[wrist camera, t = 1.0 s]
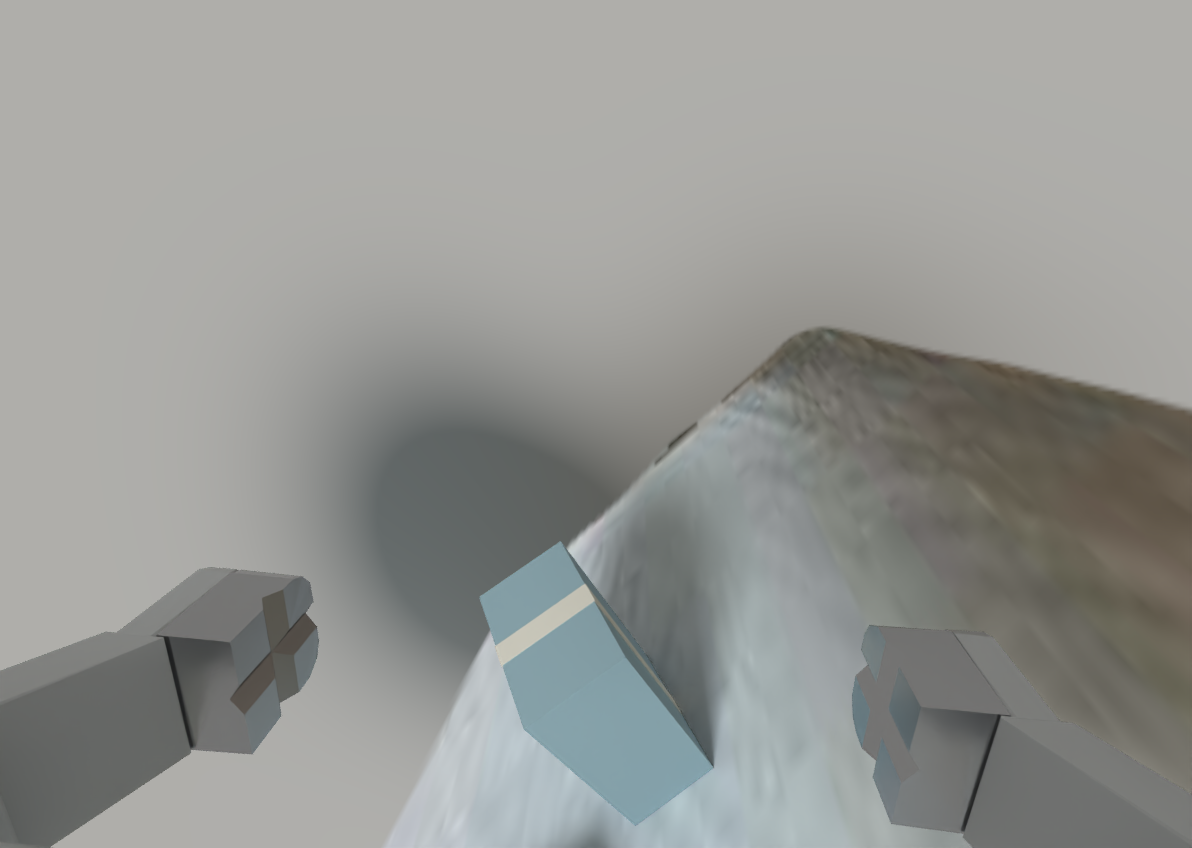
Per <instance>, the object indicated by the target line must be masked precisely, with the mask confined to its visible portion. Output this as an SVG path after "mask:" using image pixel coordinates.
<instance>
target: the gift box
mask: <svg viewBox="0 0 1192 848" xmlns="http://www.w3.org/2000/svg"><path fill="white" fill-rule="evenodd" d="M479 598H480V600H481V604H482V607H483V610H484V613H485V616H486V619H487V621H488V624H489V627H490V630H491V633H492V636H493V639H494V642H495V645H496V646H495V649H496V652H497V655H498V658H499V661H500V664H501V666H502V667H503V669H504V672H505V675H506V678H507V681H508V684H509V687H510V690H511V692H512V695H513V698H514V701H515V704H516V707H517V710H518V713H519V716H520V719H521V722H522V725H523V728H524V730H525V731H526V732H528V733H529V734H530V735H531V736H532V737H533V738H534V739H536V740H537V741H538V742H539V743H540V744H541V745H543V746H544V747H545V748H546V749H547V750H548V751H549V752H551V753H552V754H553V755H554V756H555V757H556V758H558V759H559V760H560V761H561V762H562V763H563V764H564V765H566V766H567V767H568V768H569V769H570V770H571V771H573V772H574V773H575V774H576V775H577V776H578V777H579V778H581V779H582V780H583V781H584V782H585V783H586V784H588V785H589V786H590V787H591V788H592V789H593V790H594V791H596V792H597V793H598V794H599V795H600V796H601V797H603V798H604V799H605V800H606V801H607V802H608V803H609V804H611V805H612V806H613V807H614V808H615V809H616V810H618V811H619V812H620V813H621V814H622V815H623V816H624V817H626V818H627V819H628V820H629V821H630V822H631V823H633V824H634V825H635V826H636V825H637V824H638V823H640V822H641V821H642V820H644V819H645V818H647V817H648V816H649V815H651V814H652V813H653V812H655V811H656V810H657V809H659V808H660V807H661V806H663V805H664V804H665V803H667V802H668V801H669V800H671V799H672V798H673V797H675V796H676V795H677V794H679V793H680V792H682V791H683V790H684V789H686V788H687V787H688V786H690V785H691V784H692V783H694V782H695V781H696V780H698V779H699V778H700V777H702V776H703V775H704V774H706V773H707V772H708V771H710V770H711V769H713V766H712V764H711V763H710V761H709V759H708V758H707V756H706V754H705V753H704V751H703V749H702V748H701V746H700V744H699V743H698V741H697V739H696V738H695V736H694V734H693V733H692V731H691V729H690V728H689V726H688V724H687V723H686V721H685V719H684V718H683V716H682V712H681V711H680V709H679V707H678V706H677V704H676V702H675V701H674V699H673V697H672V696H671V695H670V693H669V692H668V691H667V689H666V687H665V686H664V684H663V682H662V681H661V679H660V677H659V676H658V674H657V672H656V671H655V669H654V667H653V666H652V664H651V662H650V661H649V659H648V657H647V656H646V654H645V653H644V651H643V650H642V649H641V647H640V646H639V645H638V643H637V642H636V641H635V639H634V638H633V637H632V635H631V634H630V633H629V631H628V630H627V629H626V627H625V626H624V625H623V623H622V622H621V621H620V619H619V618H618V617H617V615H616V614H615V613H614V611H613V610H612V609H611V607H610V606H609V605H608V603H607V602H606V601H605V599H604V598H603V597H602V595H601V594H600V593H599V591H598V590H597V589H596V588H595V586H594V585H593V584H592V582H591V581H590V580H589V578H588V577H587V576H586V574H585V573H584V572H583V570H582V569H581V568H580V566H579V565H578V564H577V562H576V561H575V560H574V558H573V557H572V556H571V554H570V553H569V552H568V550H567V549H566V548H565V546H564V545H563V544H562V542H559V543H557V544H556V545H554V546H553V547H551V548H550V549H549V550H547V551H546V552H544V553H543V554H541V555H540V556H539V557H537V558H535V559H534V560H533V561H531V562H530V563H528V564H527V565H525V566H524V567H522V568H521V569H519V570H518V571H517V572H515V573H514V574H512V575H511V576H509V577H508V578H507V579H505V580H503V581H502V582H501V583H499V584H498V585H496V586H495V587H493V588H492V589H490V590H489V591H487V592H486V593H484V594H483V595H482V596H480V597H479Z"/></svg>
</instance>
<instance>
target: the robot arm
mask: <svg viewBox="0 0 1192 848" xmlns="http://www.w3.org/2000/svg"><path fill="white" fill-rule="evenodd" d="M312 603H313V596H312V591H311V585H310V582H309V581H308V580H306V579H305V578H303V577H302V576H294V575H284V574H275V573H266V572H256V571H247V570H236V569H226V568H214V567H209V568H204V569H199V570H197V571H196V572H195V573H193V574H192V575H191V576H190V577H188V578H187V579H186V580H184V581H183V582H182V583H180V584H179V585H178V586H176V587H175V588H174V589H173V590H171V591H170V592H169V593H167V594H166V595H165V596H163V597H162V598H161V599H160V600H159V601H157V602H156V603H154V604H153V605H152V606H150V607H149V608H148V609H147V610H145V611H144V612H143V613H141V614H140V615H139V616H138V617H136V618H135V619H134V620H132V621H131V622H130V623H128V624H127V625H126V626H124V627H123V628H122V629H121V630H119V631H118V632H117V633H114V632H104V633H101V634H99V635H96V636H93V637H90V638H88V639H85V640H82V641H80V642H77V643H74V644H72V645H69V646H66V647H63V648H61V649H58V650H55V651H53V652H50V653H47V654H44V655H42V656H39V657H36V658H34V659H31V660H28V661H25V662H23V663H20V664H17V665H15V666H12V667H9V668H7V669H4V670H1V671H0V848H50V847H51V846H52V845H54V844H55V843H57V842H58V841H60V840H61V839H63V838H64V837H66V836H67V835H69V834H70V833H72V832H73V831H75V830H76V829H78V828H79V827H81V826H82V825H84V824H85V823H87V822H88V821H90V820H91V819H93V818H94V817H96V816H97V815H99V814H100V813H102V812H103V811H105V810H106V809H108V808H109V807H111V806H112V805H114V804H115V803H117V802H118V801H120V800H121V799H123V798H124V797H126V796H127V795H129V794H130V793H132V792H133V791H135V790H136V789H138V788H139V787H141V786H142V785H144V784H145V783H147V782H148V781H150V780H151V779H153V778H154V777H156V776H157V775H159V774H160V773H162V772H163V771H165V770H166V769H168V768H169V767H171V766H172V765H174V764H175V763H177V762H178V761H180V760H181V759H183V758H184V757H186V756H187V755H189V754H190V753H191V750H203V751H216V752H229V753H242V754H253V753H254V751H255V750H256V749H257V747H258V746H259V745H260V743H261V742H262V741H263V739H264V738H265V737H266V735H267V734H268V733H269V731H270V730H271V729H272V727H273V726H274V725H275V724H276V722H277V721H278V719H279V718H280V717H281V709H280V702H282V701H284V700H286V699H287V698H289V697H291V696H293V695H295V694H296V693H298V692H299V691H300V690H301V689H302V687H303V686H304V684H305V683H306V681H307V680H308V679H309V677H310V675H311V673H312V670H313V667H314V664H315V662H316V659H317V655H318V644H319V639H318V631H317V626H316V625H315V624H314V623H313V622H312V620H311V619H310V618H309V617H308V616H307V614H306V612H307V610H308V609H309V607H310V606H311V604H312ZM861 650H862V652H863V655H864V657H865V659H866V661H867V664H868V665H867V666H866V667H865V668H864V669H863V670H862V671H860V672H859V673H858V674H857V675H856V676H855V682H854V688H853V694H852V706H853V720H854V724H855V729H856V733H857V736H858V739H859V741H860V744H861V747H862V749H864V750H865V751H866V752H867V753H868V754H869V755H870V756H871V757H873V758H874V759H875V760H876V765H875V770H874V774H873V779H874V781H875V784H876V786H877V789H878V791H879V794H880V797H881V799H882V802H883V804H884V807H885V809H886V812H887V814H888V817H889V820H890V822H891V824H896V825H903V826H910V827H918V828H925V829H932V830H940V831H947V832H954V833H961V834H964V835H963V838H964V839H965V840H966V841H967V842H968V843H969V844H970V845H971V846H972V847H973V848H1192V794H1190V793H1188V792H1187V791H1185V790H1184V789H1182V788H1180V787H1179V786H1177V785H1175V784H1174V783H1172V782H1170V781H1169V780H1167V779H1165V778H1164V777H1162V776H1160V775H1159V774H1157V773H1155V772H1154V771H1152V770H1151V769H1149V768H1147V767H1146V766H1144V765H1142V764H1141V763H1139V762H1137V761H1136V760H1134V759H1132V758H1131V757H1129V756H1127V755H1126V754H1124V753H1123V752H1121V751H1119V750H1118V749H1116V748H1114V747H1113V746H1111V745H1109V744H1108V743H1106V742H1104V741H1103V740H1101V739H1099V738H1098V737H1096V736H1095V735H1093V734H1091V733H1090V732H1088V731H1086V730H1085V729H1083V728H1081V727H1080V726H1078V725H1076V724H1075V723H1070V722H1060V720H1059V719H1058V718H1057V717H1056V715H1055V714H1054V713H1053V712H1052V710H1051V709H1050V708H1049V707H1048V705H1047V704H1046V703H1045V702H1044V700H1043V699H1042V698H1041V697H1040V695H1039V694H1038V693H1037V692H1036V690H1035V689H1034V688H1033V687H1032V685H1031V684H1030V683H1029V682H1028V680H1027V679H1026V678H1025V676H1024V675H1023V674H1022V673H1021V671H1020V670H1019V669H1018V668H1017V666H1016V665H1015V664H1014V663H1013V661H1012V660H1011V659H1010V658H1009V656H1008V655H1007V654H1006V653H1005V651H1004V650H1003V649H1002V648H1001V646H1000V645H999V644H998V643H997V641H996V640H995V639H994V638H993V637H992V636H990V635H989V634H987V633H985V632H980V631H962V630H931V629H917V628H903V627H889V626H875V625H869V627H868V629H867V631H866V633H865V635H864V639H863V643H862V648H861Z"/></svg>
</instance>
